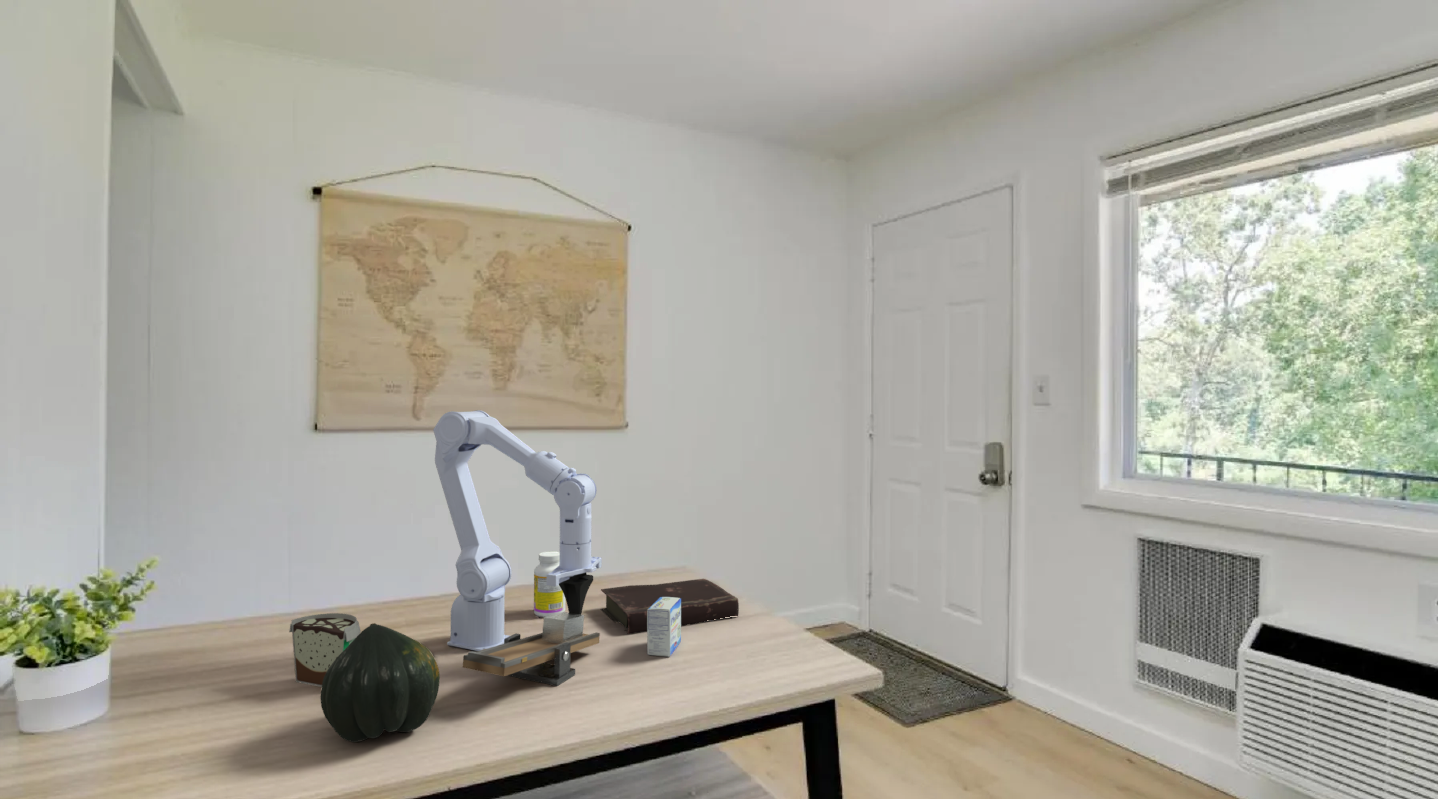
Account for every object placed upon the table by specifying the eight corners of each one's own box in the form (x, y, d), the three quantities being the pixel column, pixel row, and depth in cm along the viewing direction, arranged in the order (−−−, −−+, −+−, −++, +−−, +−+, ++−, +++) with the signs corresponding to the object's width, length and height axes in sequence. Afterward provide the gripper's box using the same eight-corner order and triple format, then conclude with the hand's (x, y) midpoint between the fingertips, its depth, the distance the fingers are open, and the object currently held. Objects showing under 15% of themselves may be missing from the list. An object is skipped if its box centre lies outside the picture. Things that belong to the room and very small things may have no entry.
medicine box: (670, 657, 126) (670, 610, 126) (646, 655, 127) (646, 608, 127) (681, 642, 134) (681, 597, 134) (658, 640, 135) (659, 595, 135)
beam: (461, 667, 108) (463, 651, 108) (562, 636, 131) (563, 623, 132) (504, 676, 104) (506, 659, 105) (599, 643, 128) (600, 629, 128)
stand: (498, 673, 118) (498, 640, 118) (517, 663, 123) (518, 631, 123) (557, 686, 113) (557, 651, 113) (575, 674, 118) (575, 641, 118)
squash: (422, 717, 91) (434, 607, 100) (295, 732, 87) (319, 618, 97) (440, 748, 101) (449, 646, 111) (327, 763, 98) (346, 657, 108)
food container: (377, 677, 116) (378, 617, 116) (347, 692, 110) (347, 628, 110) (321, 666, 120) (321, 608, 120) (288, 680, 114) (289, 619, 114)
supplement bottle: (542, 607, 154) (542, 549, 154) (570, 609, 153) (570, 550, 153) (528, 616, 148) (528, 556, 148) (557, 619, 146) (557, 558, 146)
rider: (541, 640, 123) (543, 617, 123) (562, 634, 128) (564, 611, 128) (562, 644, 121) (564, 620, 121) (582, 637, 126) (584, 615, 127)
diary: (739, 621, 149) (739, 597, 149) (628, 638, 138) (628, 613, 137) (701, 596, 166) (701, 575, 165) (599, 610, 154) (599, 587, 154)
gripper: (570, 551, 120) (570, 631, 120) (615, 535, 133) (614, 607, 133) (536, 547, 122) (536, 625, 123) (584, 532, 136) (583, 602, 136)
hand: (575, 615), depth 128 cm, fingers closed
